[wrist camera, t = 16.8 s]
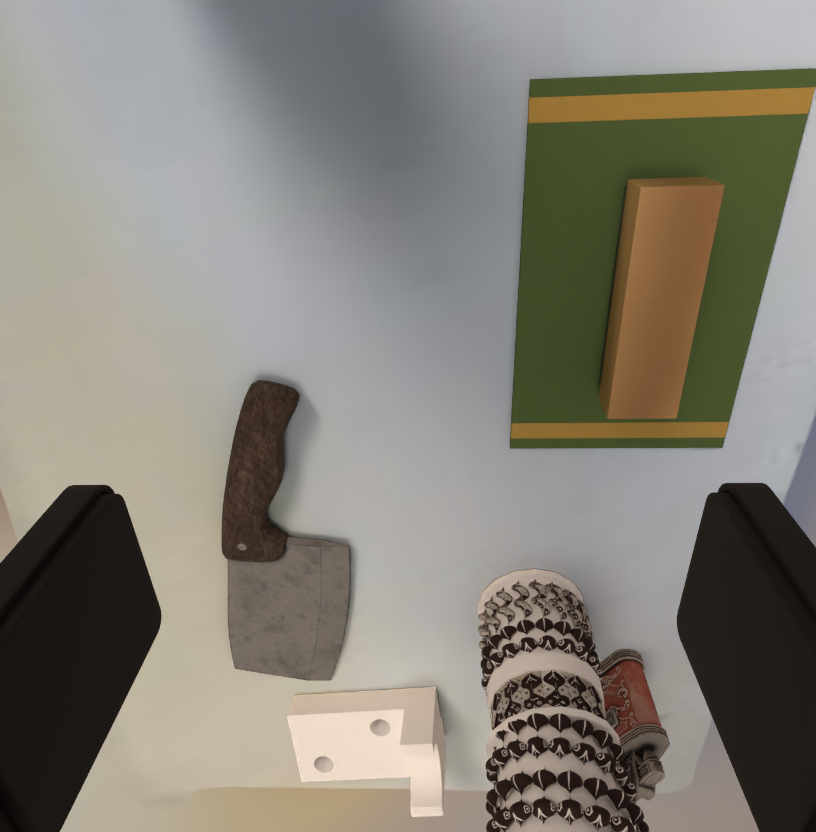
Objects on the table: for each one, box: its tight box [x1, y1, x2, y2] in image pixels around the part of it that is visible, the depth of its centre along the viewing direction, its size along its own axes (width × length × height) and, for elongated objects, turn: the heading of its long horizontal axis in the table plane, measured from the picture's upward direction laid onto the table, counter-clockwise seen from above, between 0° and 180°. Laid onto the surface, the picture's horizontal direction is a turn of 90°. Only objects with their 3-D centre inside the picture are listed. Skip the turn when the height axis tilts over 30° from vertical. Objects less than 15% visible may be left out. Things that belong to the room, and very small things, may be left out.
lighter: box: [600, 649, 670, 803], centre depth 49 cm, size 8×3×10 cm, turn 157°
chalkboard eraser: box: [599, 177, 725, 419], centre depth 35 cm, size 4×13×4 cm, turn 2°
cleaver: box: [222, 380, 350, 680], centre depth 47 cm, size 29×10×2 cm, turn 174°
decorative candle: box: [478, 569, 649, 832], centre depth 39 cm, size 9×9×25 cm
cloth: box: [510, 69, 816, 448], centre depth 36 cm, size 22×14×1 cm, turn 2°
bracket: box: [287, 687, 446, 817], centre depth 54 cm, size 13×7×8 cm, turn 99°
